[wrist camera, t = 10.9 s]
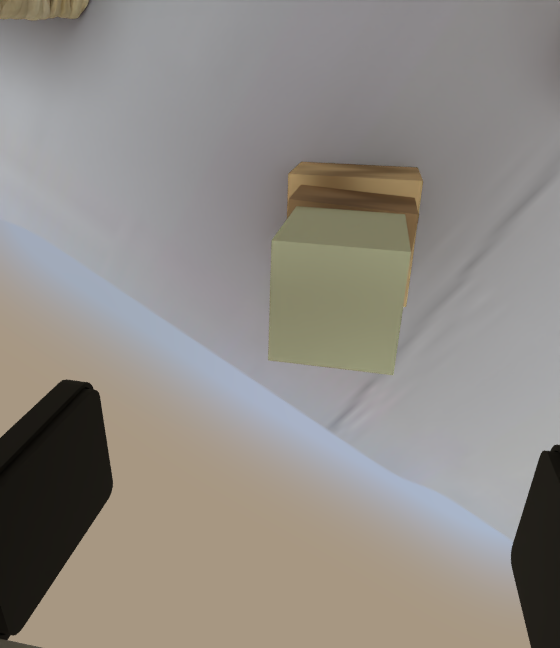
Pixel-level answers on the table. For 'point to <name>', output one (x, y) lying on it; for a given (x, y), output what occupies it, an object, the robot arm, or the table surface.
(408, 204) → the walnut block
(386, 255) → the sage block
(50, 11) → the storage basket
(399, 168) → the oak block
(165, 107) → the table surface
